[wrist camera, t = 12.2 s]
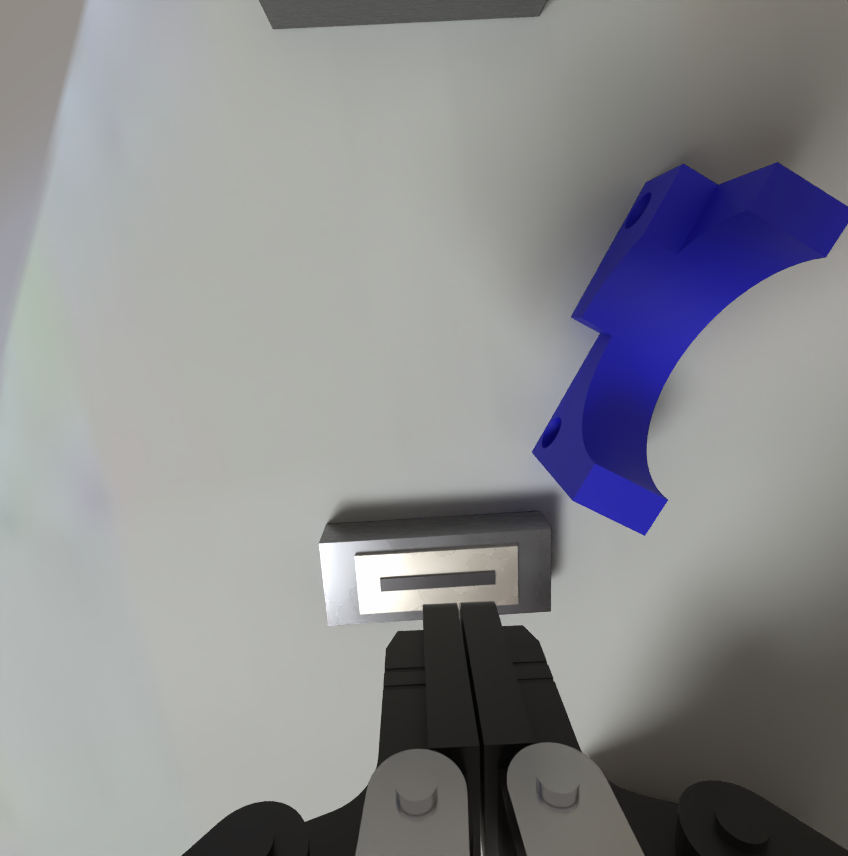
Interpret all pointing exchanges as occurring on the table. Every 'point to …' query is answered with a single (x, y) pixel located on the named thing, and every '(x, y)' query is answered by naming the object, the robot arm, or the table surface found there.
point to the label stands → (440, 536)
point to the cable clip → (670, 316)
